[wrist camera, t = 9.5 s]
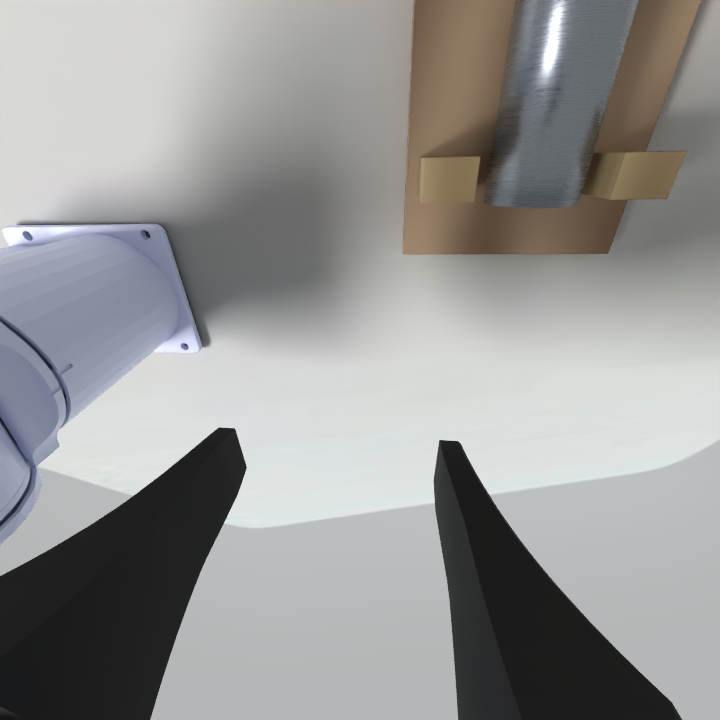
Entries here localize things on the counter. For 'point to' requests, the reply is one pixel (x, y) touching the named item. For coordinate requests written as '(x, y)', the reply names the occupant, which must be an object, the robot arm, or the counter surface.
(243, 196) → the counter surface
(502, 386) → the counter surface
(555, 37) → the tube
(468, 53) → the stand
